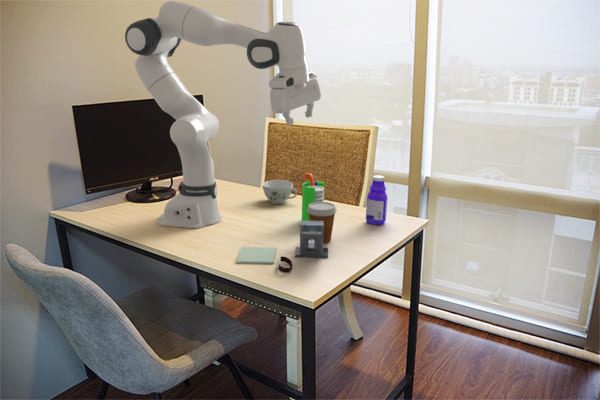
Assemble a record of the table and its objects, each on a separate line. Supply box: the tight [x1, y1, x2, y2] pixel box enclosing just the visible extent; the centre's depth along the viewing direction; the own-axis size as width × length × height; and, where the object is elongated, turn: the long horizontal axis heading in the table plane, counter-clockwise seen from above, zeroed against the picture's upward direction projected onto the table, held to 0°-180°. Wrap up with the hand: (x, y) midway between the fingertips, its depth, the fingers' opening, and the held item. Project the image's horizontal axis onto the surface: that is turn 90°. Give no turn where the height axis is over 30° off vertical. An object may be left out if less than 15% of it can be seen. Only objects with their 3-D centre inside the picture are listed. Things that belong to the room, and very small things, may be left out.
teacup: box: [262, 179, 298, 205], centre depth 196 cm, size 15×12×8 cm
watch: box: [275, 255, 293, 274], centre depth 137 cm, size 8×5×4 cm, turn 3°
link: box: [302, 232, 321, 255], centre depth 138 cm, size 6×2×6 cm, turn 88°
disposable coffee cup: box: [307, 201, 337, 245], centre depth 156 cm, size 10×10×12 cm
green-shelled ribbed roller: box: [301, 172, 325, 221], centre depth 172 cm, size 9×8×18 cm
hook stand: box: [294, 220, 329, 259], centre depth 142 cm, size 10×15×10 cm, turn 178°
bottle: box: [365, 174, 388, 226], centre depth 172 cm, size 7×6×17 cm
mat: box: [235, 246, 278, 265], centre depth 146 cm, size 11×11×1 cm
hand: (299, 120), depth 154 cm, fingers open, 8 cm apart
